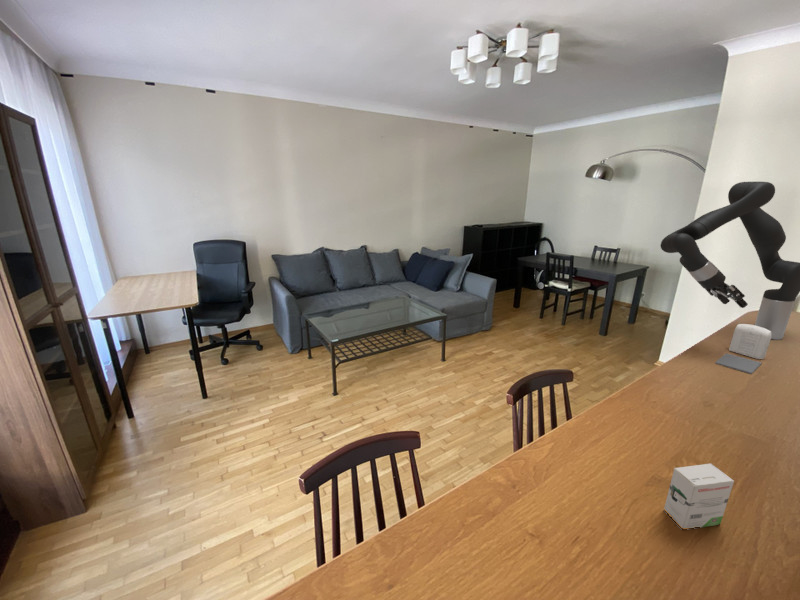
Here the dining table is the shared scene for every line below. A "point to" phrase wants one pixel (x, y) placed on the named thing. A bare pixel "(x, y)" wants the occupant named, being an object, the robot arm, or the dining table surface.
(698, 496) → the ink box
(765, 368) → the dining table surface
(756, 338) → the photo printer
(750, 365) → the rubber mat
